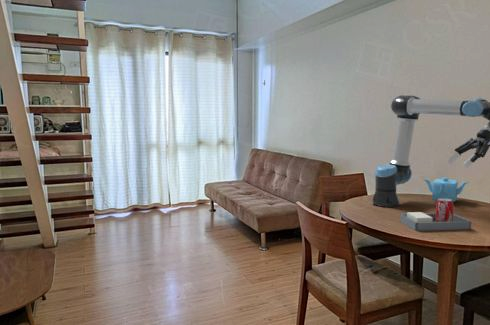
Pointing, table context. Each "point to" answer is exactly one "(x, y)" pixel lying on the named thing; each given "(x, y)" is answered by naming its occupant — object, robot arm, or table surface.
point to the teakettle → (445, 189)
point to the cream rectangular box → (419, 217)
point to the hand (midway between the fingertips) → (456, 164)
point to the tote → (436, 223)
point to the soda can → (444, 210)
